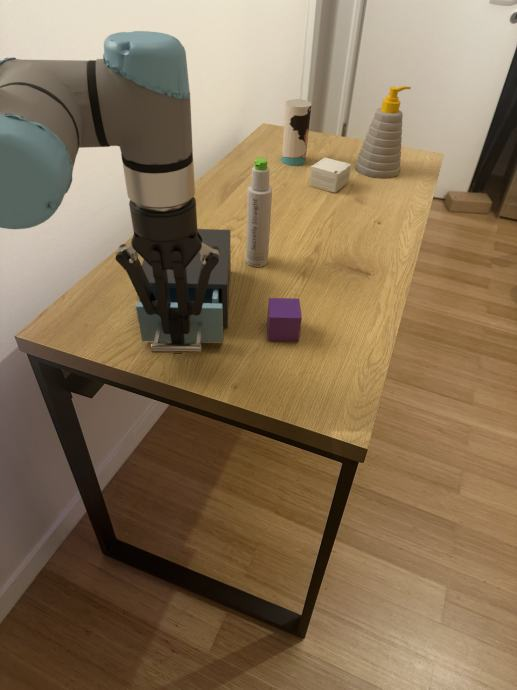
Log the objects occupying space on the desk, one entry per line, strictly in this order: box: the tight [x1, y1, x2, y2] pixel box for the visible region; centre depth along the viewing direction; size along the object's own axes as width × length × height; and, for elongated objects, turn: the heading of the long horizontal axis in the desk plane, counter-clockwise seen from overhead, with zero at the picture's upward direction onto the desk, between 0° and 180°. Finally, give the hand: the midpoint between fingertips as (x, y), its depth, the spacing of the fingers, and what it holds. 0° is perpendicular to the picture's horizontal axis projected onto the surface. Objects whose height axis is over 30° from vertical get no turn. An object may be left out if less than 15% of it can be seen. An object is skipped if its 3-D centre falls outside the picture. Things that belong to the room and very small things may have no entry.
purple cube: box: [266, 297, 303, 342], centre depth 75 cm, size 5×5×5 cm
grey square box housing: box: [138, 228, 232, 329], centre depth 79 cm, size 17×14×9 cm
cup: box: [281, 98, 313, 167], centre depth 125 cm, size 7×7×15 cm
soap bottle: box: [354, 85, 412, 179], centre depth 121 cm, size 12×12×20 cm
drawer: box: [135, 287, 224, 355], centre depth 73 cm, size 22×13×7 cm, turn 1°
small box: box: [308, 156, 352, 194], centre depth 118 cm, size 8×8×5 cm
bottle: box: [245, 157, 273, 268], centre depth 85 cm, size 4×4×20 cm
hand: (178, 347), depth 68 cm, fingers closed
